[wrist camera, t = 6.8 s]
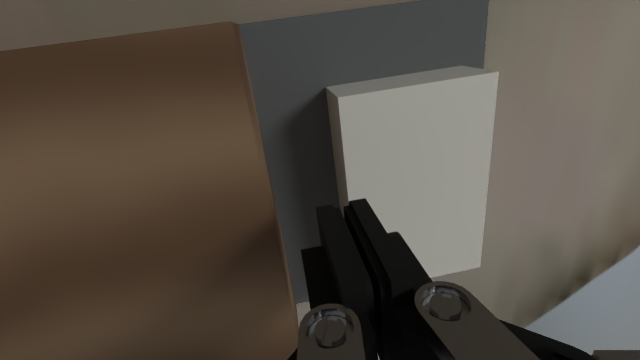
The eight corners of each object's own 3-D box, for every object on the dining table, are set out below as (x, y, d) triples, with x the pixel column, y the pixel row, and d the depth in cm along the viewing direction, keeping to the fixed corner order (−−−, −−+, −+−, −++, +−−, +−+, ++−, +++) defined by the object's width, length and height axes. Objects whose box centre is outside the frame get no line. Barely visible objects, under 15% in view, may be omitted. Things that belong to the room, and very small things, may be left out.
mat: (239, 24, 13) (238, 24, 12) (484, -8, 14) (489, -9, 13) (295, 299, 19) (295, 303, 18) (464, 264, 19) (467, 267, 19)
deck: (-137, 74, 12) (-321, 93, 8) (239, 24, 13) (229, 21, 9) (49, 351, 17) (-7, 434, 14) (295, 299, 19) (303, 364, 15)
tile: (498, 71, 12) (461, 65, 14) (337, 97, 12) (325, 86, 14) (479, 267, 16) (453, 237, 18) (358, 293, 15) (346, 259, 18)
